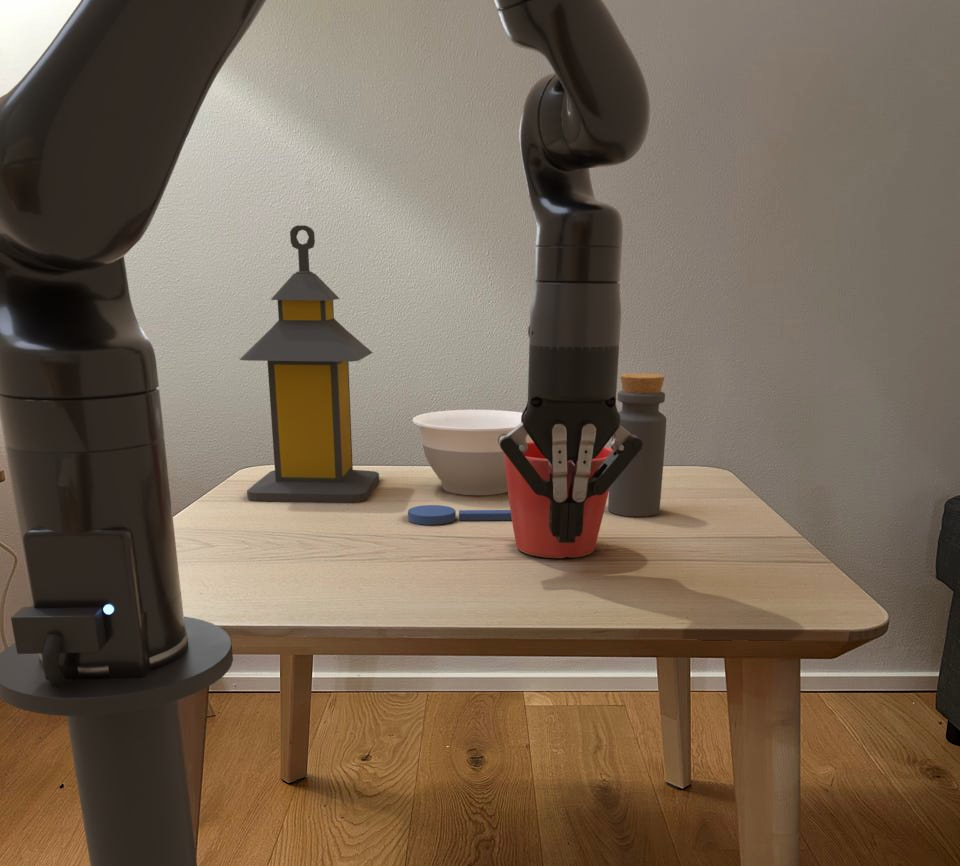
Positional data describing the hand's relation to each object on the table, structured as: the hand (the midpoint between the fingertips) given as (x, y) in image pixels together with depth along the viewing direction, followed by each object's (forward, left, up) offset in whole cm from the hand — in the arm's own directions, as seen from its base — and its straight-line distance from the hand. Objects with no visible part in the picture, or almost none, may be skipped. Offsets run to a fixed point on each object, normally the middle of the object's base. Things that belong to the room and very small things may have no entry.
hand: (565, 540), depth 87 cm
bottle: (+23, -11, -3) cm, 26 cm away
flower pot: (+8, 0, -3) cm, 8 cm away
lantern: (+36, +26, -3) cm, 44 cm away
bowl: (+36, +6, -3) cm, 37 cm away
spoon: (+20, +5, -3) cm, 21 cm away
